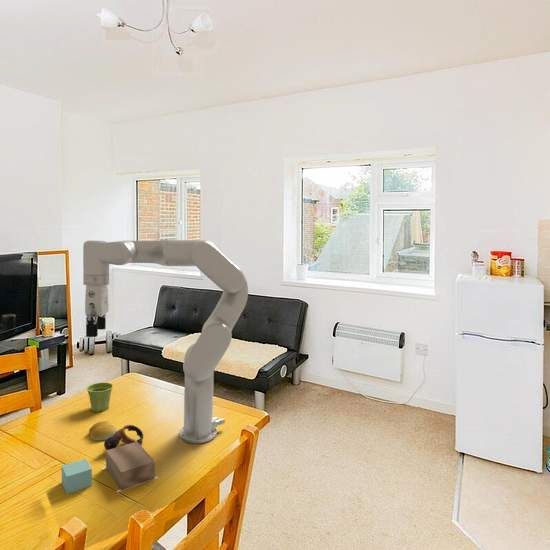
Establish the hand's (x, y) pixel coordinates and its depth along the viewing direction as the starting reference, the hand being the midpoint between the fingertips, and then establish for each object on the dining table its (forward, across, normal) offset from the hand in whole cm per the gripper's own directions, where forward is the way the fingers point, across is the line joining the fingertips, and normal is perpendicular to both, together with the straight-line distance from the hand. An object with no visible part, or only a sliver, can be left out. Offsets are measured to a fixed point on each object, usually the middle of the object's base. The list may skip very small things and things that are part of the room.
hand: (96, 332), depth 132 cm
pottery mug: (+36, -8, -10) cm, 38 cm away
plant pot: (+36, +23, +4) cm, 43 cm away
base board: (+35, -23, -15) cm, 45 cm away
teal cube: (+36, -27, -2) cm, 45 cm away
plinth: (+34, -23, -15) cm, 44 cm away
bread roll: (+36, +2, -2) cm, 36 cm away
